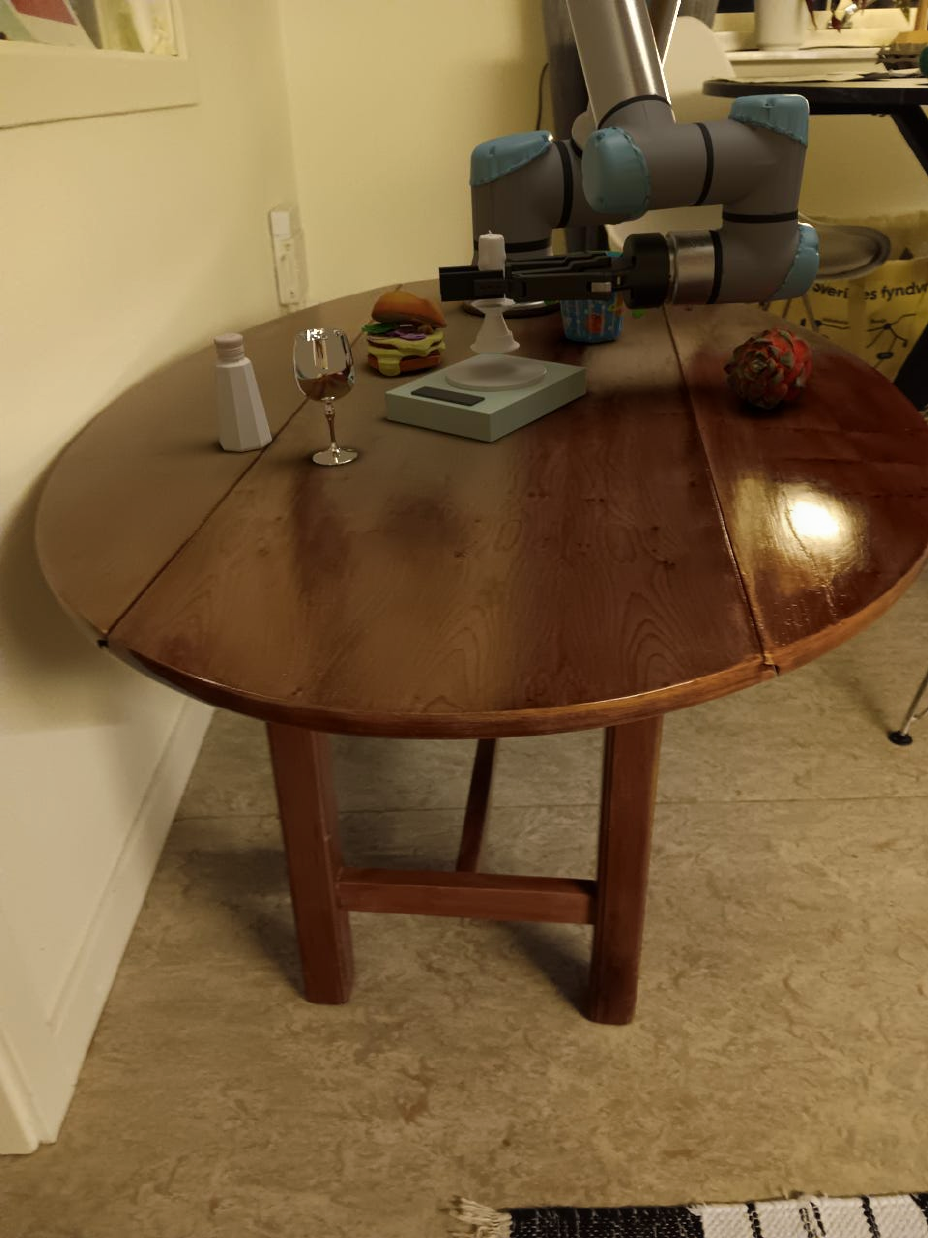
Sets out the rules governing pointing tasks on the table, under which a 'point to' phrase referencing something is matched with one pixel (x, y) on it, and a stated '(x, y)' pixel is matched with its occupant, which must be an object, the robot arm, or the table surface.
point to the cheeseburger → (404, 333)
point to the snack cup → (594, 316)
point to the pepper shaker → (238, 398)
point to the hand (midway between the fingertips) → (440, 284)
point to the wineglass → (325, 379)
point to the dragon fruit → (770, 368)
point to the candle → (493, 302)
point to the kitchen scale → (486, 395)
